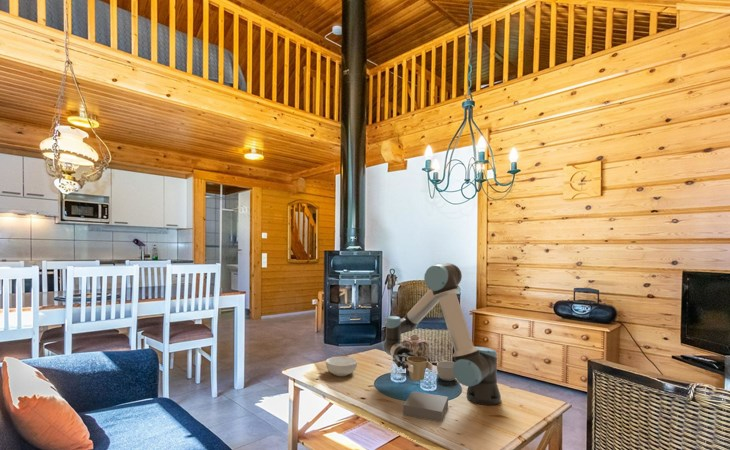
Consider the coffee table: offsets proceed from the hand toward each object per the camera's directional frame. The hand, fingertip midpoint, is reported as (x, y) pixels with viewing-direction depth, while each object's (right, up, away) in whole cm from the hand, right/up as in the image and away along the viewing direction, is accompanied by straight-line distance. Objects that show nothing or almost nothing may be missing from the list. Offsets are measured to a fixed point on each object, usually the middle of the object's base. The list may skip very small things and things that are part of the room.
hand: (422, 368), depth 164 cm
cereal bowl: (-37, -19, +43) cm, 60 cm away
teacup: (+19, -20, +39) cm, 48 cm away
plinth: (+2, -18, 0) cm, 18 cm away
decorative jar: (+4, -20, +56) cm, 59 cm away
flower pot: (-2, -6, +4) cm, 8 cm away
